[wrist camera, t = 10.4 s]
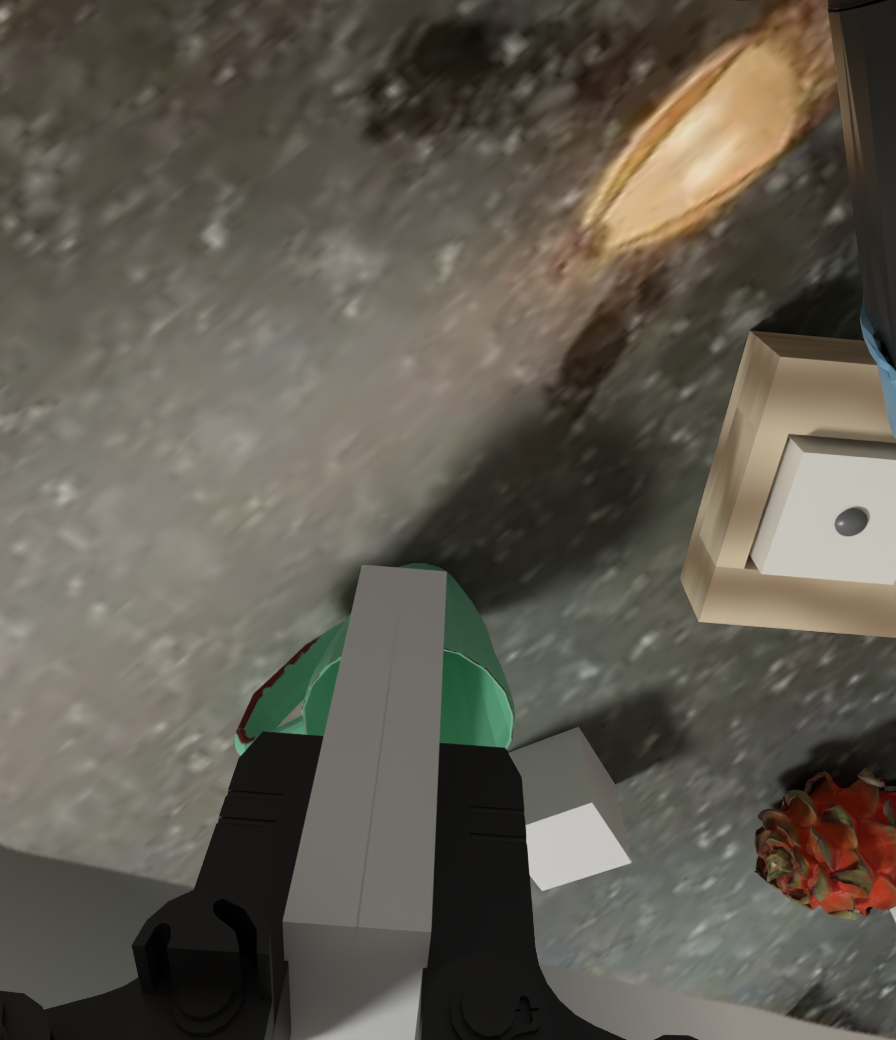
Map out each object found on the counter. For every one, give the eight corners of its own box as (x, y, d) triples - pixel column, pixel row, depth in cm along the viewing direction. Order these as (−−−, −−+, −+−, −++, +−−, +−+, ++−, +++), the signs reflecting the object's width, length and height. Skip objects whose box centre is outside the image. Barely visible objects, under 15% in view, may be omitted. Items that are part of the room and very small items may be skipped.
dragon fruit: (712, 794, 53) (875, 726, 52) (771, 914, 52) (939, 846, 50) (739, 829, 45) (933, 749, 44) (809, 973, 43) (1012, 893, 42)
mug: (461, 497, 40) (460, 610, 31) (531, 631, 44) (547, 763, 36) (230, 591, 43) (171, 716, 35) (316, 707, 48) (282, 844, 39)
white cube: (534, 811, 52) (541, 891, 47) (494, 756, 50) (497, 834, 44) (615, 783, 51) (632, 863, 45) (578, 725, 48) (592, 802, 43)
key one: (771, 417, 36) (804, 453, 33) (902, 428, 36) (949, 466, 33) (735, 531, 40) (762, 575, 36) (855, 541, 40) (894, 586, 36)
